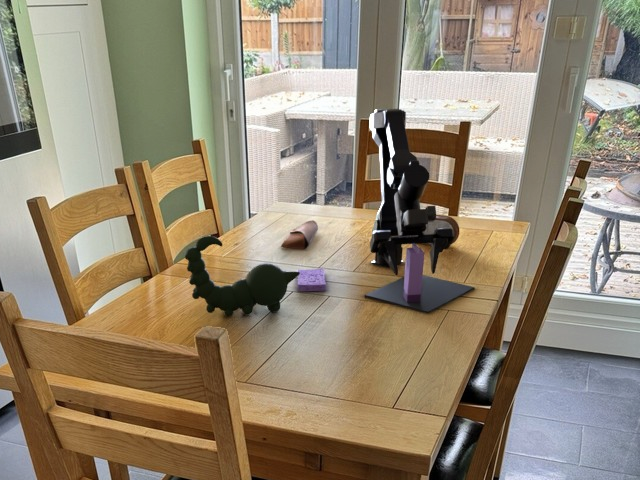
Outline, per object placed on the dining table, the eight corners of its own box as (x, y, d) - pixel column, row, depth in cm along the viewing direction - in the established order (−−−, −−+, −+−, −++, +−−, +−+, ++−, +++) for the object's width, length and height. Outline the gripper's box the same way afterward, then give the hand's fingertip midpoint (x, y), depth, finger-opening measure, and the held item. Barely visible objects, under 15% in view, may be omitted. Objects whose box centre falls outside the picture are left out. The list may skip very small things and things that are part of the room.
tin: (458, 247, 205) (461, 216, 200) (454, 249, 203) (457, 219, 198) (409, 240, 212) (411, 210, 207) (405, 242, 210) (407, 213, 205)
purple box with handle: (402, 295, 172) (406, 243, 165) (416, 295, 172) (420, 242, 165) (407, 302, 168) (411, 249, 161) (420, 302, 168) (425, 248, 161)
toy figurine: (196, 328, 164) (304, 315, 163) (180, 245, 153) (296, 230, 152) (198, 313, 171) (302, 300, 170) (183, 233, 161) (294, 219, 160)
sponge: (297, 291, 177) (297, 284, 176) (297, 275, 188) (297, 268, 187) (325, 291, 177) (326, 284, 176) (324, 274, 187) (324, 267, 186)
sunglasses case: (291, 230, 222) (301, 211, 218) (310, 242, 223) (321, 224, 219) (279, 247, 207) (291, 227, 203) (300, 260, 208) (312, 240, 204)
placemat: (364, 296, 173) (364, 294, 173) (412, 274, 186) (413, 272, 186) (428, 313, 163) (428, 311, 163) (474, 289, 176) (475, 287, 176)
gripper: (374, 194, 160) (381, 258, 157) (456, 190, 160) (465, 254, 158) (367, 221, 170) (373, 281, 168) (444, 217, 171) (451, 278, 168)
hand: (415, 273), depth 165 cm, fingers open, 8 cm apart
